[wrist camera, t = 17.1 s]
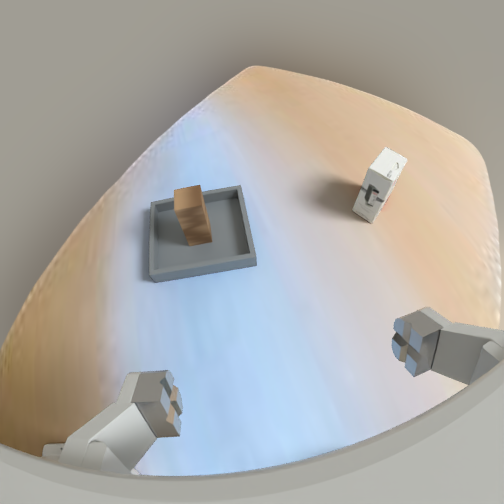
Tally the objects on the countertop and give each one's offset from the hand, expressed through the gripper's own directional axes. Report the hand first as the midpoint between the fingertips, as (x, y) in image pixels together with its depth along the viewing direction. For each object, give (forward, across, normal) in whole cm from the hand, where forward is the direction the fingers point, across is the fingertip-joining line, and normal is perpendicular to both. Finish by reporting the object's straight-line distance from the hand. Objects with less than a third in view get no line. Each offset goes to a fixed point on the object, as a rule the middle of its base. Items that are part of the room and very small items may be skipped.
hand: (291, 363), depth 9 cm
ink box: (+41, -27, +3) cm, 49 cm away
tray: (+41, +6, +3) cm, 41 cm away
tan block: (+40, +6, +3) cm, 41 cm away
